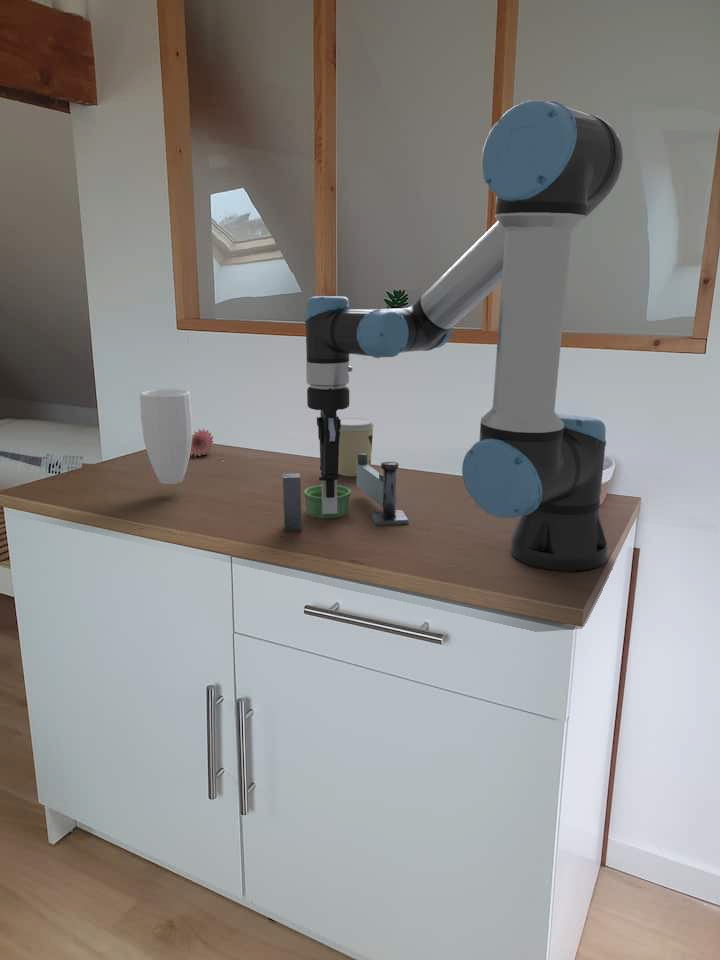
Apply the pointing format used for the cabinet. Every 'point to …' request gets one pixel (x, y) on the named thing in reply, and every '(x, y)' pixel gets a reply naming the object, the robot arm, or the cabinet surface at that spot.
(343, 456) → the coffee cup
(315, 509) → the ramekin
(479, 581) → the cabinet surface
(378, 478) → the gate
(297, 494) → the stile
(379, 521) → the pivot post
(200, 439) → the flower
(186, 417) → the cup
